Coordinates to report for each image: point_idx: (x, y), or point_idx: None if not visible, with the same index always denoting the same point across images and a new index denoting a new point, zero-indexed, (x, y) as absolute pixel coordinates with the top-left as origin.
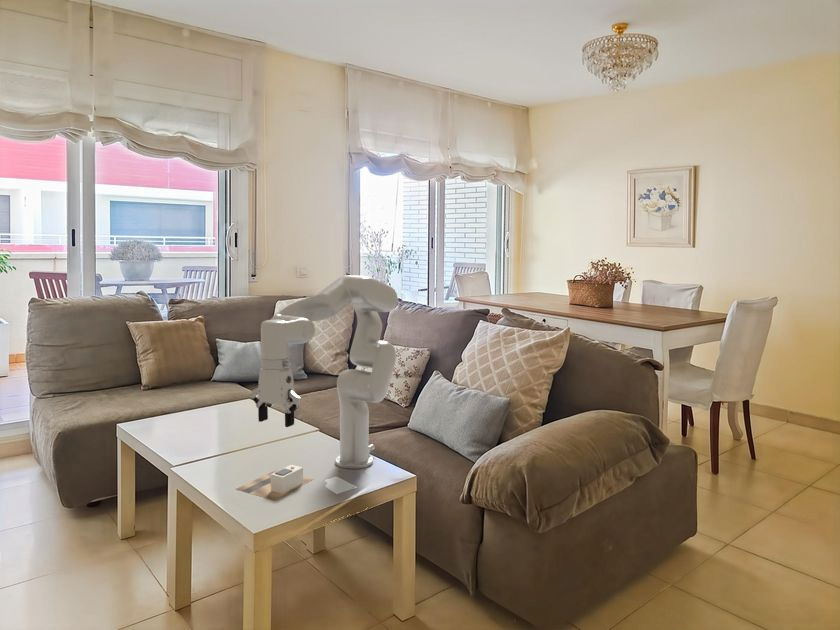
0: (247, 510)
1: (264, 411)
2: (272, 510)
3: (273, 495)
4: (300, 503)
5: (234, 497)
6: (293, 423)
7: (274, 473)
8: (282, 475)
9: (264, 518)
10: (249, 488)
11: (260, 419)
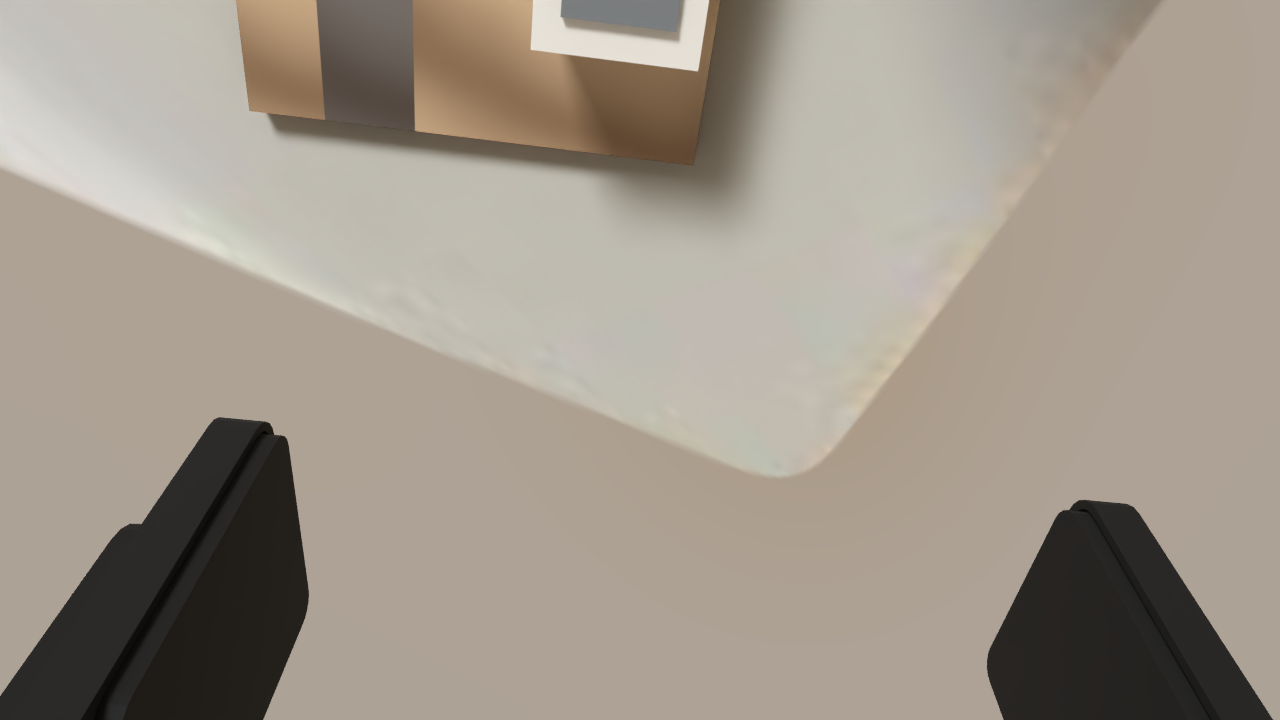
0: (581, 313)
1: (207, 708)
2: (745, 252)
3: (633, 90)
4: (895, 66)
5: (334, 180)
6: (1125, 530)
7: (550, 10)
8: (667, 27)
9: (759, 361)
10: (341, 46)
11: (286, 646)
